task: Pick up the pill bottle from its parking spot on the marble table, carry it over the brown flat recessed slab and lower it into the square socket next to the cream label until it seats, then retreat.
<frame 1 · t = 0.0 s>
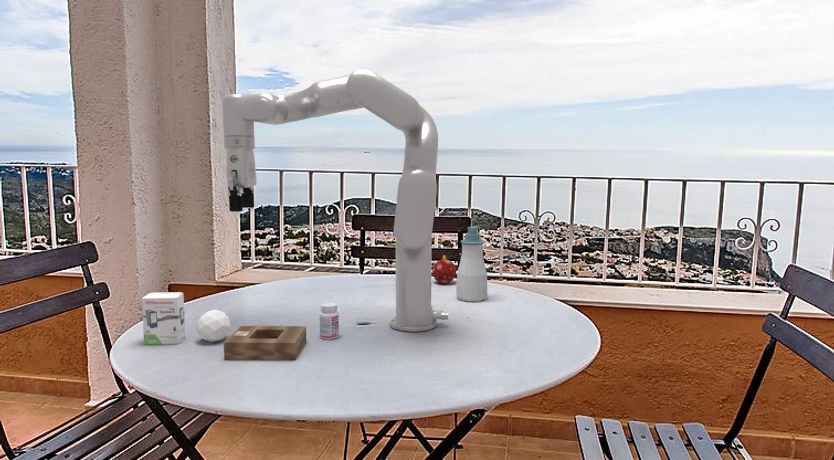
hand: (242, 209, 148), 31 cm above the table, fingers open, 9 cm apart
brown flat recessed slab: (267, 350, 132), on the table
soap bottle: (471, 299, 179), on the table
ink box: (165, 342, 139), on the table
geometric ball: (214, 341, 139), on the table
christmas ornament: (444, 283, 200), on the table
pill bottle: (329, 337, 142), on the table
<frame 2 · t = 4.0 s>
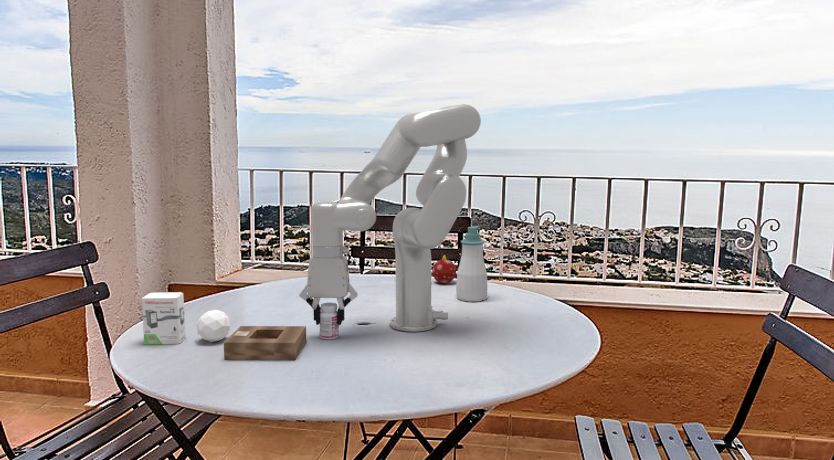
hand: (329, 322, 141), 4 cm above the table, fingers closed on pill bottle, 4 cm apart
pill bottle: (329, 337, 142), on the table, touching gripper
everything else where it was.
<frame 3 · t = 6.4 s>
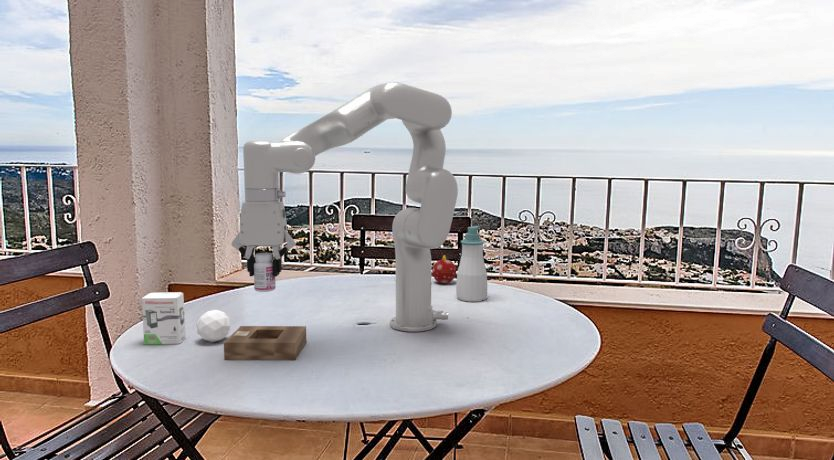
hand: (264, 274, 130), 18 cm above the table, fingers closed on pill bottle, 4 cm apart
pill bottle: (265, 290, 130), point 14 cm above the table, touching gripper
everything else where it was.
when the fingers open (6 cm above the table, at t = 8.6 s): pill bottle drops 2 cm, resting on brown flat recessed slab.
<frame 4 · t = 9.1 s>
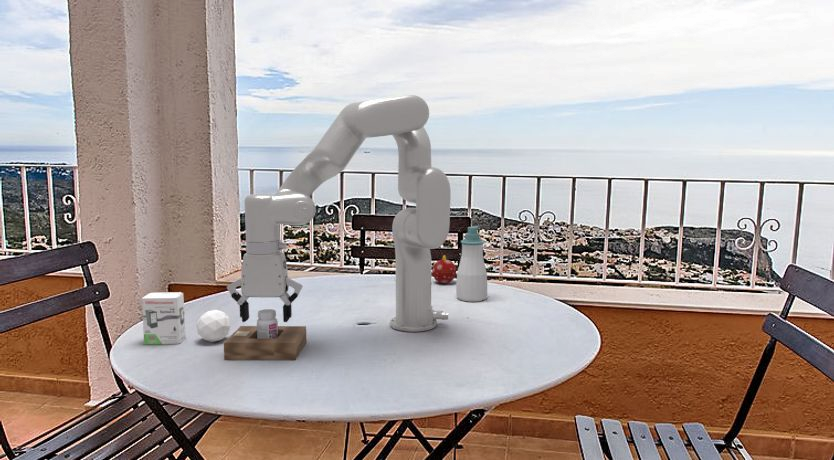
hand: (266, 320, 131), 7 cm above the table, fingers open, 9 cm apart
pill bottle: (267, 346, 132), point 1 cm above the table, touching brown flat recessed slab
everything else where it was.
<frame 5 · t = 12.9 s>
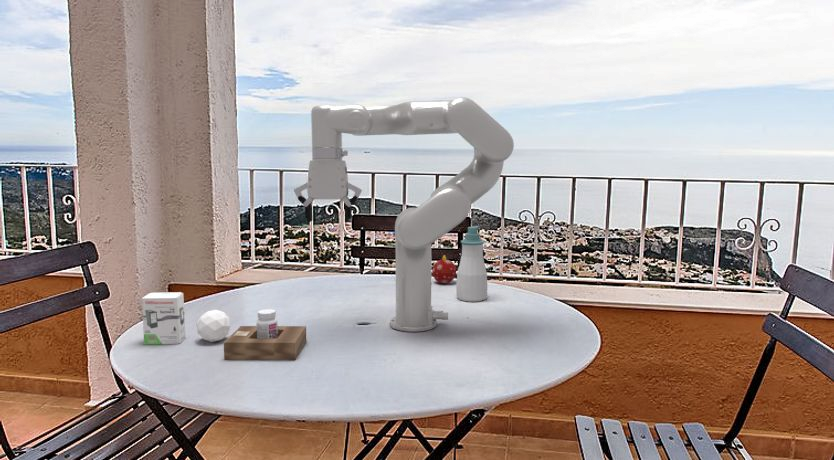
hand: (328, 221, 146), 28 cm above the table, fingers open, 9 cm apart
nothing on the table moved.
at the end: pill bottle 0.2 cm from the brown flat recessed slab (horizontally); pill bottle point 0.8 cm above the table; pill bottle tilted 0° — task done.
